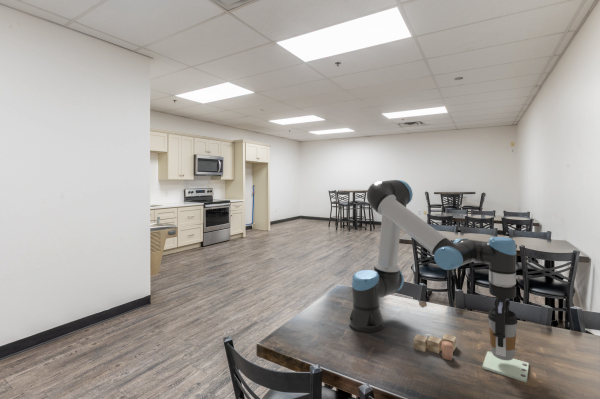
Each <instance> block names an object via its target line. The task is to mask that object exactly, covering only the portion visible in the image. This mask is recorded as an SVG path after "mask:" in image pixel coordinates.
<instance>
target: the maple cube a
mask: <svg viewBox="0 0 600 399" xmlns="http://www.w3.org/2000/svg"><path fill="white" fill-rule="evenodd" d="M427 340H428V337H425V335H421V334H416V335H415V336H414V337H413V349H414V350H416V351H420V352H423V353H425V352H426V351H427V350H428V346H427Z"/></svg>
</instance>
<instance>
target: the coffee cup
mask: <svg viewBox="0 0 600 399" xmlns="http://www.w3.org/2000/svg"><path fill="white" fill-rule="evenodd" d="M495 315H496V313H495V307H494V308H491V309H489V311H488V314H487V318H488V323H489V324H488V325H489V327H488V328H489V330H488V331H489V340H490V344H489V345H490V349H491V350H490V352H492V354H493V355H494V356H495V357H497V358H499V359H501V360H512V359H515V358H514V357H515V349H516V340H517V339H516V338H517V324H518V317H517V315H516V313H515V312H513V311H511V310H510V309H509V312H508V316H506V317H505V336H506V357H504V356H500V355H497V354H496V336H494V335H493V333H494V334H495Z"/></svg>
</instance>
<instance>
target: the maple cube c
mask: <svg viewBox="0 0 600 399" xmlns="http://www.w3.org/2000/svg"><path fill="white" fill-rule="evenodd" d="M441 339H442V342H443V341H448V342H450V343H452V344H453V352H455V350H456V348H457V337H456V336H454V335H452V334H451V335H450V334H446V333H444V335H443V336H442V338H441Z"/></svg>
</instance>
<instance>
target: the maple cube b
mask: <svg viewBox="0 0 600 399" xmlns="http://www.w3.org/2000/svg"><path fill="white" fill-rule="evenodd" d="M427 346H428V348H427V351H430V352H431V353H436V354H440V353H441V352H442V338H441V337H436V336H430V337H429V339H428V340H427Z"/></svg>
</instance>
